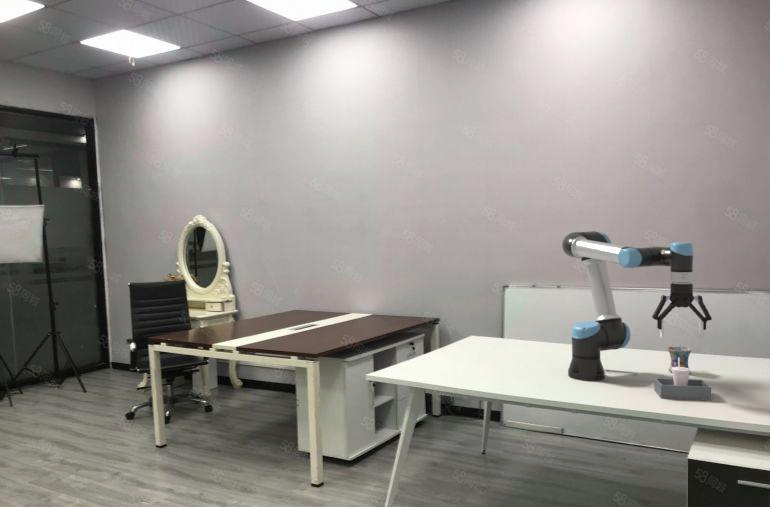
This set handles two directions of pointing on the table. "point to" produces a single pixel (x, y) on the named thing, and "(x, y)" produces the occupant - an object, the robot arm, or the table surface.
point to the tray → (682, 389)
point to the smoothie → (680, 374)
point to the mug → (681, 353)
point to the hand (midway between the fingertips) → (681, 338)
